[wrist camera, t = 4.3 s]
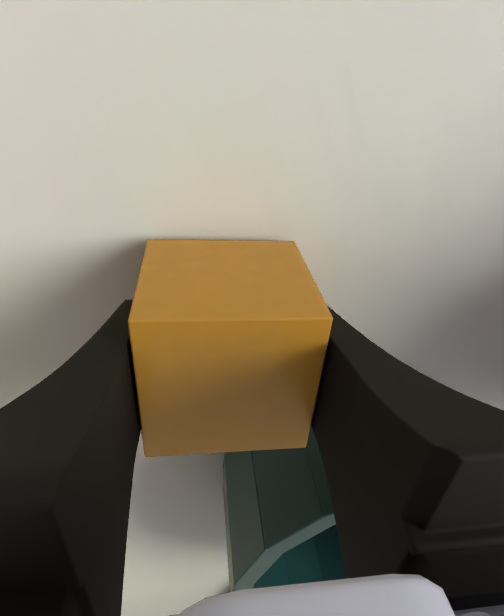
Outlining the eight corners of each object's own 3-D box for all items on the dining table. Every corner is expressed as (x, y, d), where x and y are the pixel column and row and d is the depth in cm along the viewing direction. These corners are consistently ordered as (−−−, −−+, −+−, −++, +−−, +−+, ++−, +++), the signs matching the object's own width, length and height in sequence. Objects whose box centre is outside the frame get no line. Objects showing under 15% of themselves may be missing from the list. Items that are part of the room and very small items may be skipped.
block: (294, 240, 12) (334, 318, 9) (279, 352, 15) (306, 448, 11) (147, 238, 12) (126, 321, 8) (156, 355, 14) (144, 458, 11)
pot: (499, 361, 17) (609, 476, 12) (420, 514, 23) (474, 628, 19) (226, 370, 15) (240, 505, 11) (220, 531, 21) (227, 660, 17)
